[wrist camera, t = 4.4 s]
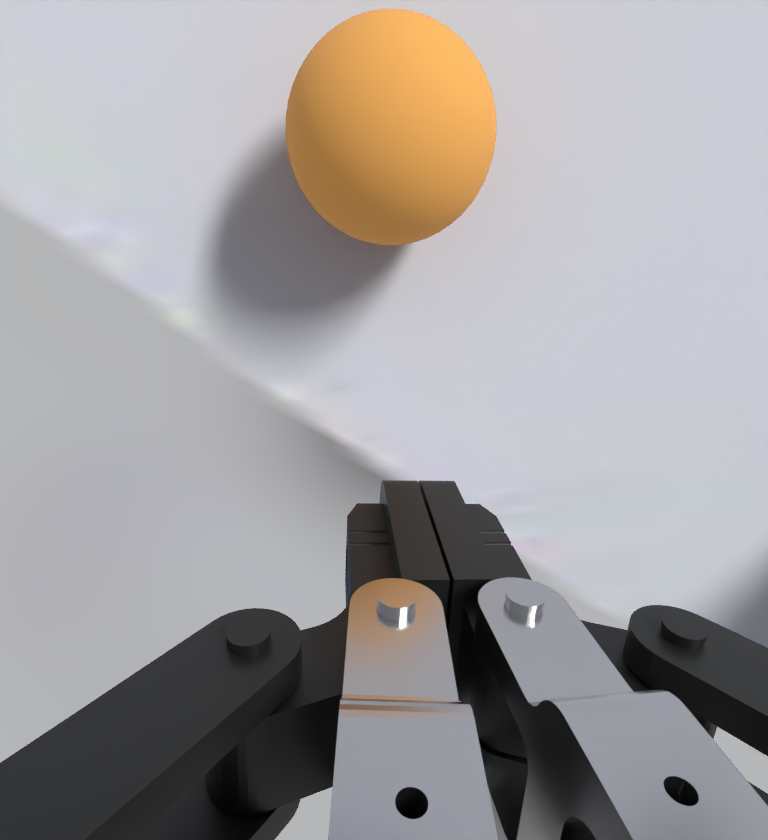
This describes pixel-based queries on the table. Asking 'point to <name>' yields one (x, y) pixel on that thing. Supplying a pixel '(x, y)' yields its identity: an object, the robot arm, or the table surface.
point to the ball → (390, 127)
